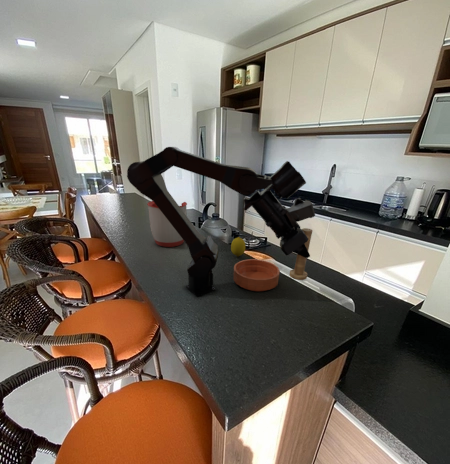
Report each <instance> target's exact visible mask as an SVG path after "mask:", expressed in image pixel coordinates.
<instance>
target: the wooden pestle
mask: <svg viewBox="0 0 450 464" xmlns="http://www.w3.org/2000/svg"><path fill="white" fill-rule="evenodd" d="M301 229H302V231H303V232H304V233H305V234H306V236H307V237H308V239H309V240H308V241H307V242H306V243H304V244H305V246H306V248H307V250H308V251H309V250H310V245H311V240H312V236H313V229H311V228H308V227H305V228H304V227H303V228H301ZM307 259H308V258H305V257H303V256H300V255H298V254H296V259H295V264H294V268H292V269H290V270H289V278H292V279H293V280H298V281H305V280H307V278H308V272H307V271H305V269H306V263H307Z"/></svg>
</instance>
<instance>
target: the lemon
mask: <svg viewBox="0 0 450 464" xmlns="http://www.w3.org/2000/svg"><path fill="white" fill-rule="evenodd" d="M230 250H231V253H232V254H233V255H234V256H236V257H237V258H238V257H241V256H243V254H245V251H246V242H245V239H243V238H241V237H240V236H238V237H235V238H233V240H232V242H231V244H230Z"/></svg>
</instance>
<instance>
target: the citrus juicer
mask: <svg viewBox="0 0 450 464" xmlns="http://www.w3.org/2000/svg"><path fill="white" fill-rule="evenodd" d="M180 204H181V205H179V207H180V208H181V209H182V211H183V212H184V213H185V215H186V216H187V217H188V215H187V214H188V213H187V211H188V210H187V205H188V203H187V202H186V201H183V202H181V203H180ZM147 208H148V217H149V226H150V231H151V235H152V238H153V240H154V242H155V244H156V245H158V246H161V247H166V248H173V247H179V246H181V245H183V244H184V243H185V241H184V240H183V239H182V237H181V236H180V235H179V234H178V232H177V231H176V230H175V228H174V227H173V226H172V225H171V223H170V222H169V221H168V220H167V218H166V217H165V216H164V214H163V213H162V212H161V211H160V209H159V208H158V207H157V205H156V204H155V203H154V202H153V201H152V200H151V201H149V202H147Z"/></svg>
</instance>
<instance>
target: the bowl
mask: <svg viewBox="0 0 450 464" xmlns="http://www.w3.org/2000/svg"><path fill="white" fill-rule="evenodd" d="M280 272H281V270H280V268H279V266H277V265H276V264H274V263H273V262H270V261H267V260H263V259H255V258H254V259H253V258H251V259H250V258H249V259H243V260H240V261H238V262H236V263H235V264H234V266H233V274H232V275H233V276H232V279H233V282H234V283H235V284H236V285H237V286H239V287H240V288H243V289H245V290H248V291H252V292H264V291H265V292H267V291H269V290H272V289H274V288H277V286H278V284H279V280H280Z"/></svg>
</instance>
